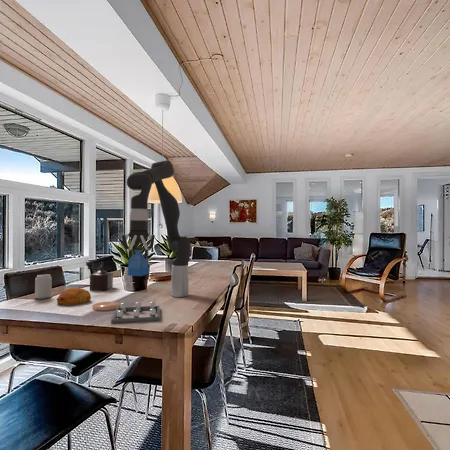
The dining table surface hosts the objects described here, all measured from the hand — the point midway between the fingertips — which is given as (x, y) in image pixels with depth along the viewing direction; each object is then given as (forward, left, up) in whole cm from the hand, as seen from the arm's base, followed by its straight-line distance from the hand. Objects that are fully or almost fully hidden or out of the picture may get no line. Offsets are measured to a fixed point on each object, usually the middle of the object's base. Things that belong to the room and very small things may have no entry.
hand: (138, 258), depth 131 cm
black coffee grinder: (+25, -57, -25) cm, 67 cm away
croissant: (+33, -29, -25) cm, 50 cm away
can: (+50, -41, -25) cm, 69 cm away
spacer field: (0, 0, -25) cm, 25 cm away
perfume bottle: (0, 0, -7) cm, 7 cm away
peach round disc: (+15, -16, -25) cm, 33 cm away
